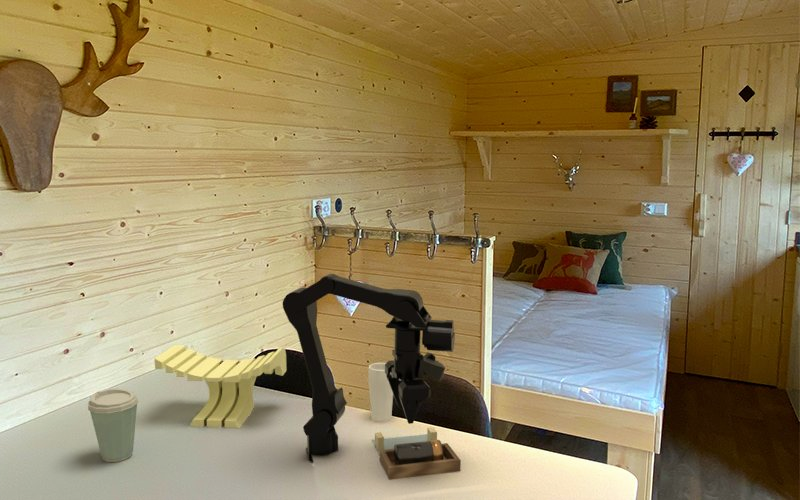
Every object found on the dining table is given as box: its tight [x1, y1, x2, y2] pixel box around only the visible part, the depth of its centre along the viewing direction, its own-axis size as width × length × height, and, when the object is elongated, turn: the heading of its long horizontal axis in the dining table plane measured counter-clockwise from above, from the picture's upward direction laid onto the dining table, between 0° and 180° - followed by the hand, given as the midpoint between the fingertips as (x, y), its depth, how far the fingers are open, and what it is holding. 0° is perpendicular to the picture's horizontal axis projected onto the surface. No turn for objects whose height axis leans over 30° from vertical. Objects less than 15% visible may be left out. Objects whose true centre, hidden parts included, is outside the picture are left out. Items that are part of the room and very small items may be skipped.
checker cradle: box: [371, 426, 438, 457], centre depth 156 cm, size 15×9×4 cm, turn 105°
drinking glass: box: [368, 362, 394, 423], centre depth 172 cm, size 7×7×15 cm
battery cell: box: [394, 439, 443, 465], centre depth 146 cm, size 10×5×5 cm, turn 104°
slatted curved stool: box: [154, 344, 287, 429], centre depth 175 cm, size 30×16×18 cm, turn 85°
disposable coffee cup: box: [87, 387, 139, 463], centre depth 150 cm, size 11×11×15 cm
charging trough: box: [379, 442, 462, 481], centre depth 145 cm, size 16×9×4 cm, turn 105°
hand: (405, 415), depth 147 cm, fingers open, 9 cm apart
